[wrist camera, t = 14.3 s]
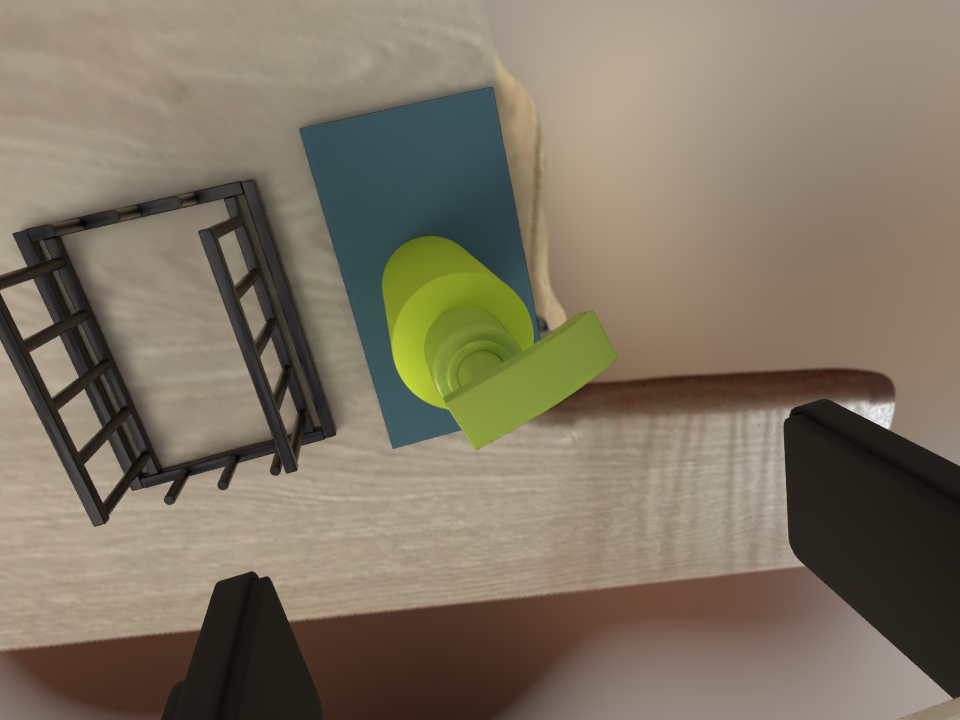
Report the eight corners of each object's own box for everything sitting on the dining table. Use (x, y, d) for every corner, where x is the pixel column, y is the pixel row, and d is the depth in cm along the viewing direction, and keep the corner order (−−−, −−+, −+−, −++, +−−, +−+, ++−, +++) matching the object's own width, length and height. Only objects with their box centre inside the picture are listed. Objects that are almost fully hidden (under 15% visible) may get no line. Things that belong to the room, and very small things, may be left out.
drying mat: (299, 129, 34) (299, 128, 34) (491, 87, 35) (492, 86, 35) (392, 445, 41) (392, 449, 40) (550, 401, 42) (553, 404, 41)
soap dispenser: (509, 291, 38) (650, 413, 20) (415, 349, 39) (465, 525, 20) (462, 207, 36) (569, 255, 18) (362, 268, 36) (363, 380, 18)
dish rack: (18, 231, 33) (-81, 250, 26) (254, 177, 35) (225, 181, 27) (136, 486, 39) (82, 563, 31) (337, 432, 40) (331, 493, 32)
